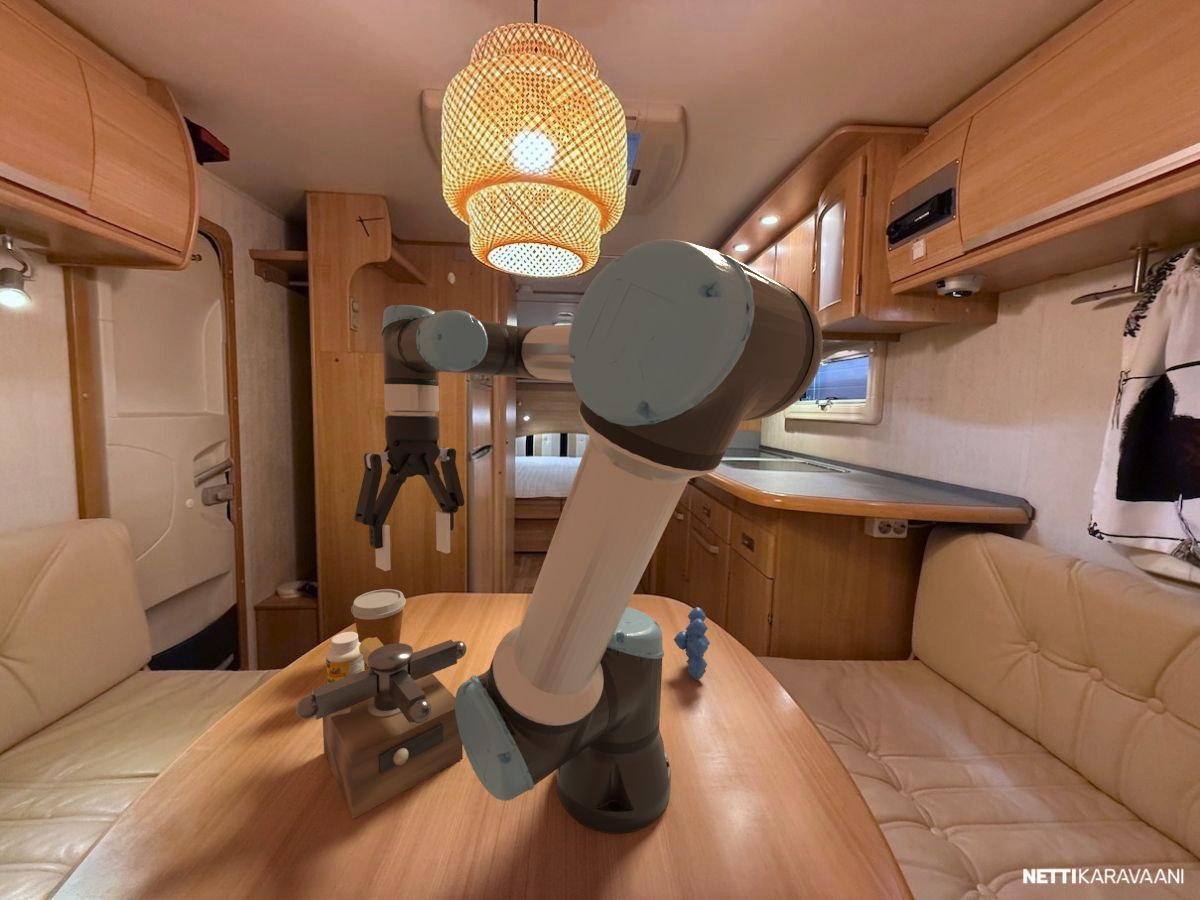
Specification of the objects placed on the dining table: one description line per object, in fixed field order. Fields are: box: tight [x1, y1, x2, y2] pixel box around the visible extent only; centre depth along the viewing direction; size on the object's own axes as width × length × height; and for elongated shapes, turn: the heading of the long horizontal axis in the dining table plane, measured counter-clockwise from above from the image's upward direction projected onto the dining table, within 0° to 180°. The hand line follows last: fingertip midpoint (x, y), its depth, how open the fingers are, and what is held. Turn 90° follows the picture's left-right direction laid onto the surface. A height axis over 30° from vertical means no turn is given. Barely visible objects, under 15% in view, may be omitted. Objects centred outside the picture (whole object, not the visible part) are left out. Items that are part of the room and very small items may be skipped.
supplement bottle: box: [325, 631, 365, 684], centre depth 76 cm, size 6×6×10 cm
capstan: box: [295, 637, 467, 723], centre depth 63 cm, size 22×22×7 cm
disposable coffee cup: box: [350, 588, 407, 666], centre depth 87 cm, size 10×10×12 cm
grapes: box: [673, 606, 711, 681], centre depth 85 cm, size 12×7×12 cm, turn 172°
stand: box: [322, 673, 464, 820], centre depth 63 cm, size 16×14×8 cm
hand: (415, 559), depth 70 cm, fingers open, 9 cm apart
